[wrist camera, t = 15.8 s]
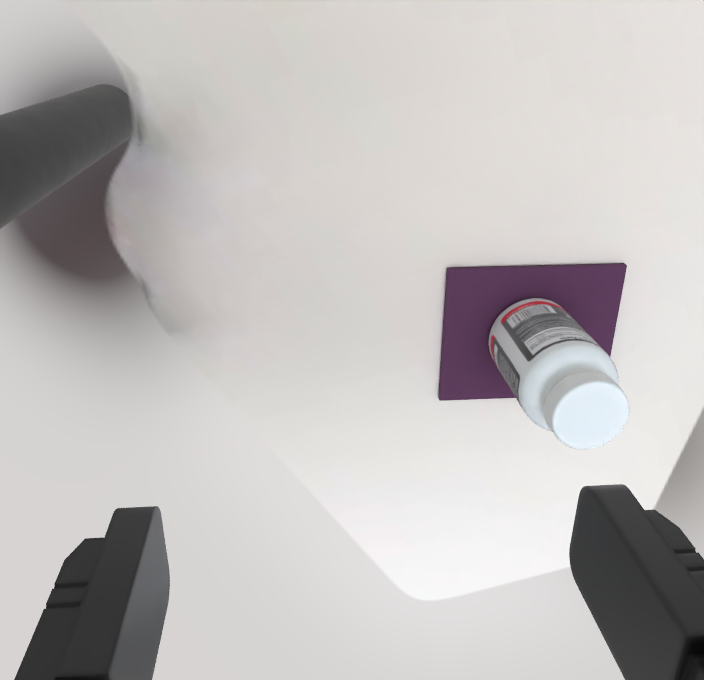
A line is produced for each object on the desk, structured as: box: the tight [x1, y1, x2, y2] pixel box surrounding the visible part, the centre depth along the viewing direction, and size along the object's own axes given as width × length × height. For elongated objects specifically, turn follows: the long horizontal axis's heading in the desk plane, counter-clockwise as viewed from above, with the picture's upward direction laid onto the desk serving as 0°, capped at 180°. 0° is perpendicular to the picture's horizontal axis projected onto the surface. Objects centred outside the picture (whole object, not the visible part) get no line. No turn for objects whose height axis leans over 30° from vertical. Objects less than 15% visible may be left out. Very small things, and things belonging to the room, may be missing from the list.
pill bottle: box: [489, 298, 629, 449], centre depth 38 cm, size 5×5×10 cm
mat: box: [439, 263, 627, 400], centre depth 43 cm, size 11×9×1 cm
